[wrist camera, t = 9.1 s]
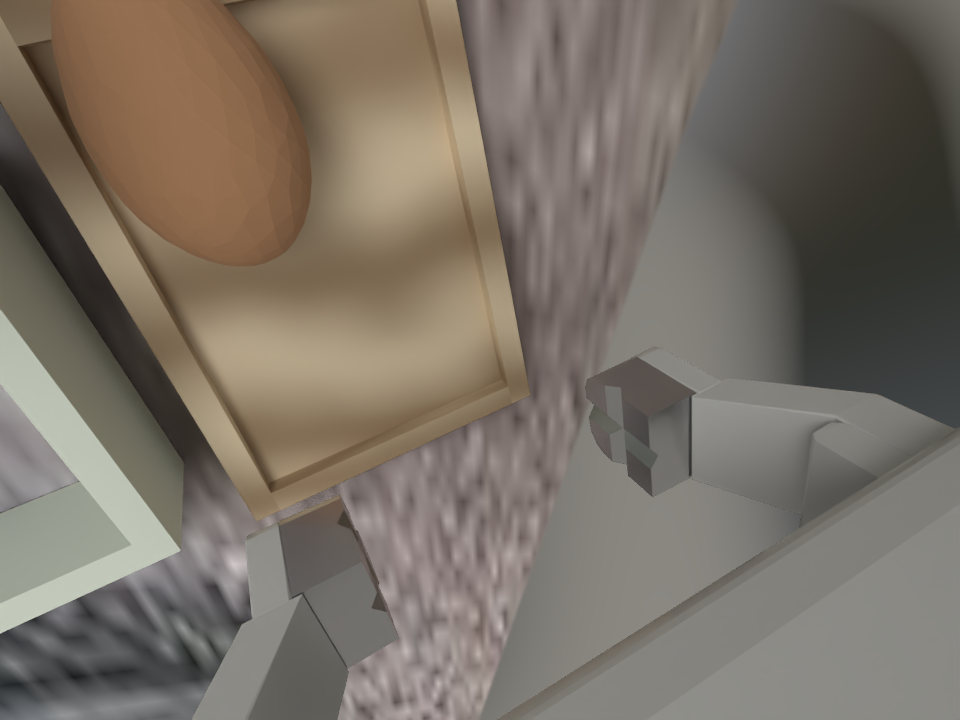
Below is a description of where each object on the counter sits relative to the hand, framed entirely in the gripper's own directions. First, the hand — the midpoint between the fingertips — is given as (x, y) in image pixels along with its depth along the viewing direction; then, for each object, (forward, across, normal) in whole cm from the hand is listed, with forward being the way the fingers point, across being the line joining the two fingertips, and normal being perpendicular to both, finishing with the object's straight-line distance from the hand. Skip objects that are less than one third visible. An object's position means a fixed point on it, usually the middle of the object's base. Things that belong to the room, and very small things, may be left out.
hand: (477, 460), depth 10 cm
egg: (+10, +2, -2) cm, 10 cm away
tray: (+14, 0, 0) cm, 14 cm away
